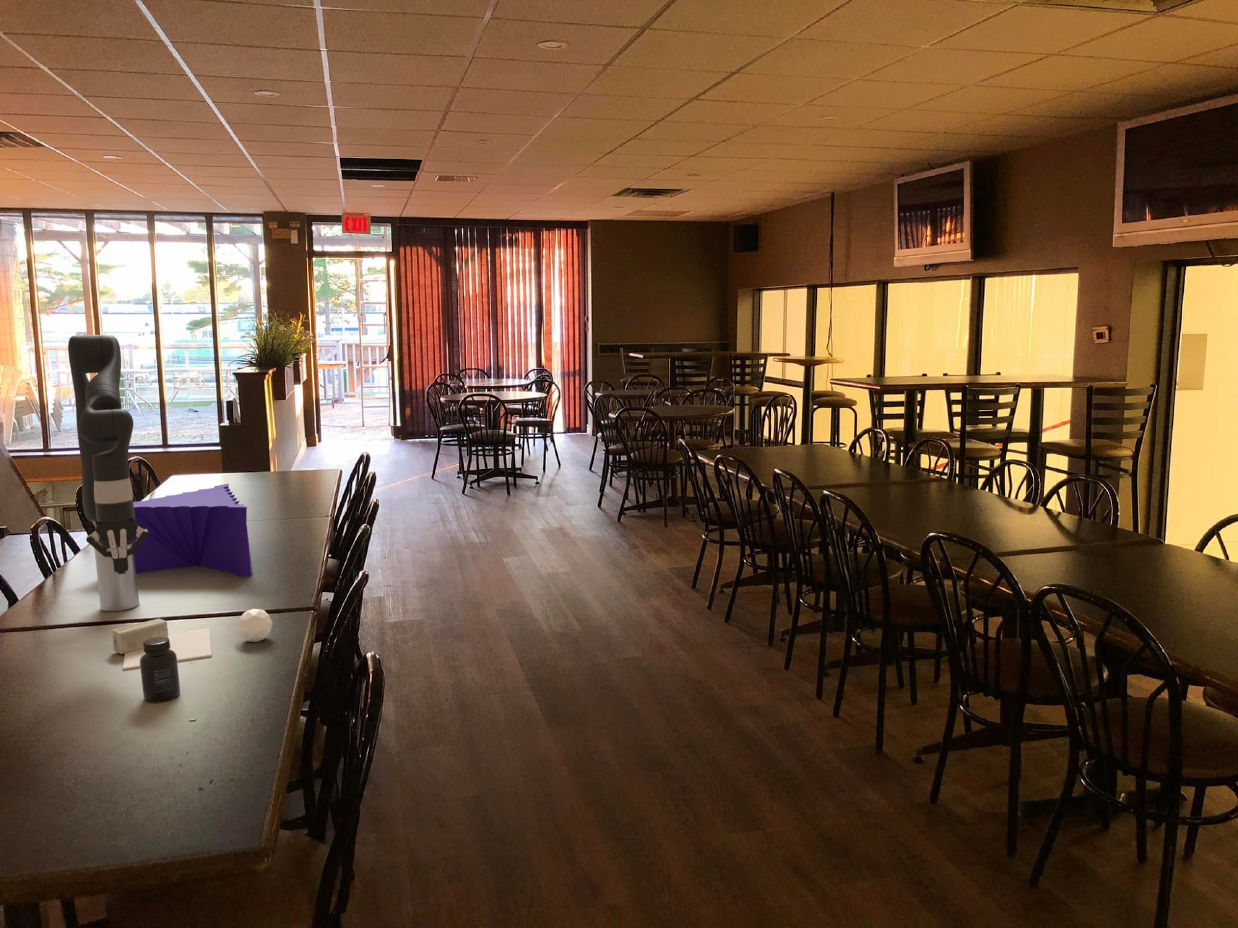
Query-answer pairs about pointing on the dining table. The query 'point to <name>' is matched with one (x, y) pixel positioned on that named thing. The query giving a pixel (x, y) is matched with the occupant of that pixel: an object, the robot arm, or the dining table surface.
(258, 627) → the geometric ball
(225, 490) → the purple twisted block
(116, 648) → the box
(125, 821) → the dining table surface
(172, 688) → the supplement bottle
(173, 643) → the mat
